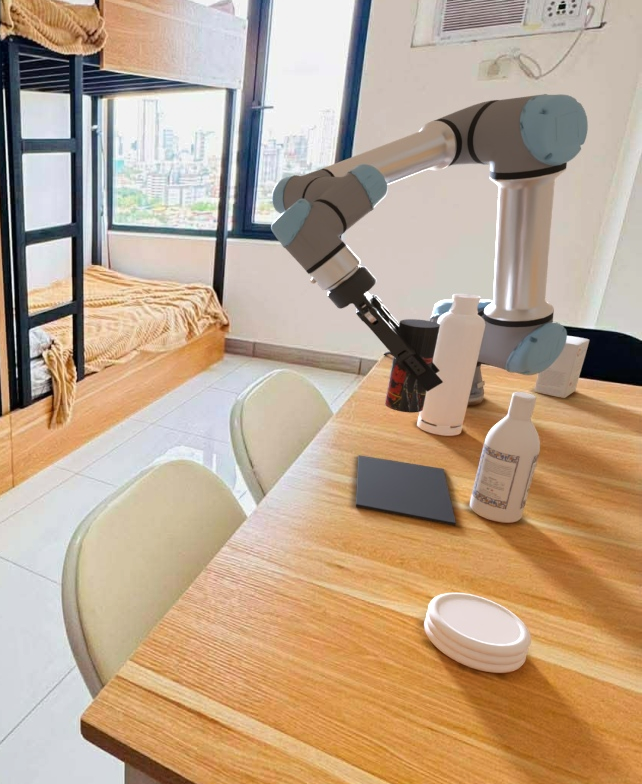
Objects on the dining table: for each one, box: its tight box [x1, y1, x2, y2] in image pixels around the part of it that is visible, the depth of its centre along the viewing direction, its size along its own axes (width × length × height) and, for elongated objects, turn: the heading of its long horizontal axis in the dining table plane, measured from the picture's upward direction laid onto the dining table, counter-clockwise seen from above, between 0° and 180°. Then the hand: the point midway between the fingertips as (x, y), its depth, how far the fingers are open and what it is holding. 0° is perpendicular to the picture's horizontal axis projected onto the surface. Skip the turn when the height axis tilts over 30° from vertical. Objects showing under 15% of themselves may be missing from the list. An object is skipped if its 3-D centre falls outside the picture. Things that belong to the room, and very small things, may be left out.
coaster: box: [423, 592, 532, 674], centre depth 72 cm, size 10×10×4 cm
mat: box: [355, 454, 457, 527], centre depth 108 cm, size 20×14×1 cm
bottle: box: [416, 293, 485, 437], centre depth 127 cm, size 8×8×28 cm
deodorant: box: [384, 318, 440, 414], centre depth 108 cm, size 6×6×15 cm
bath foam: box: [469, 391, 541, 524], centre depth 96 cm, size 7×7×20 cm
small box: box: [533, 335, 590, 399], centre depth 149 cm, size 8×6×13 cm
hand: (433, 380), depth 107 cm, fingers closed on deodorant, 6 cm apart
